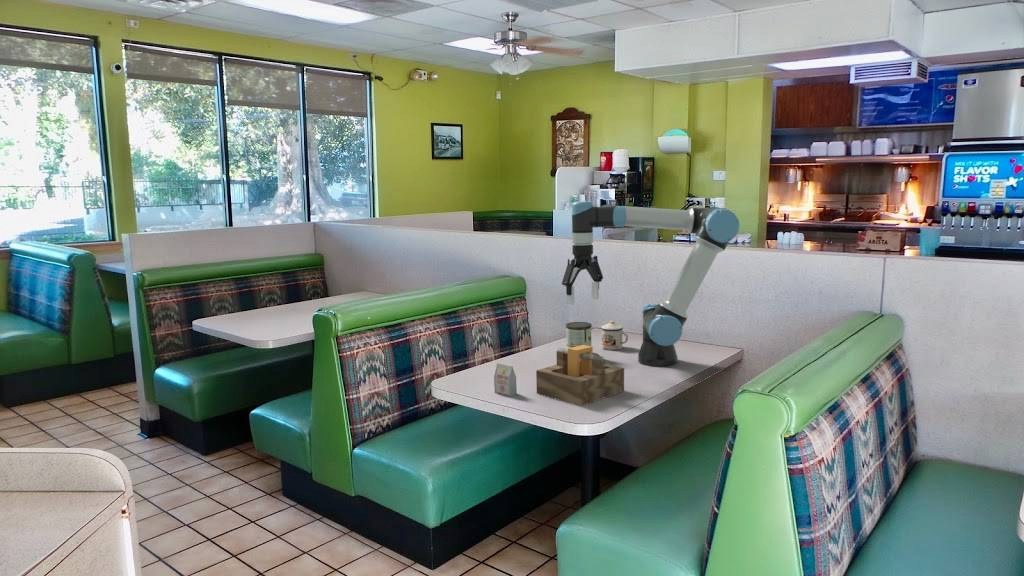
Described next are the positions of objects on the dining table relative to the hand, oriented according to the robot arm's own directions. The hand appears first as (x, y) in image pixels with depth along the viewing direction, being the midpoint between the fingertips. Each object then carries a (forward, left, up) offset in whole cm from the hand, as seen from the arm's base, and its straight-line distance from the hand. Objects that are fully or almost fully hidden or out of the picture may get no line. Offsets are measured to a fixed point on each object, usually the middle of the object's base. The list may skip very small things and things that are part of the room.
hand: (583, 301), depth 260 cm
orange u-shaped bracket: (+20, +16, -21) cm, 33 cm away
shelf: (+20, +16, -27) cm, 37 cm away
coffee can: (-13, -14, -27) cm, 33 cm away
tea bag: (+38, -2, -27) cm, 47 cm away
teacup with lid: (-36, -14, -27) cm, 47 cm away
